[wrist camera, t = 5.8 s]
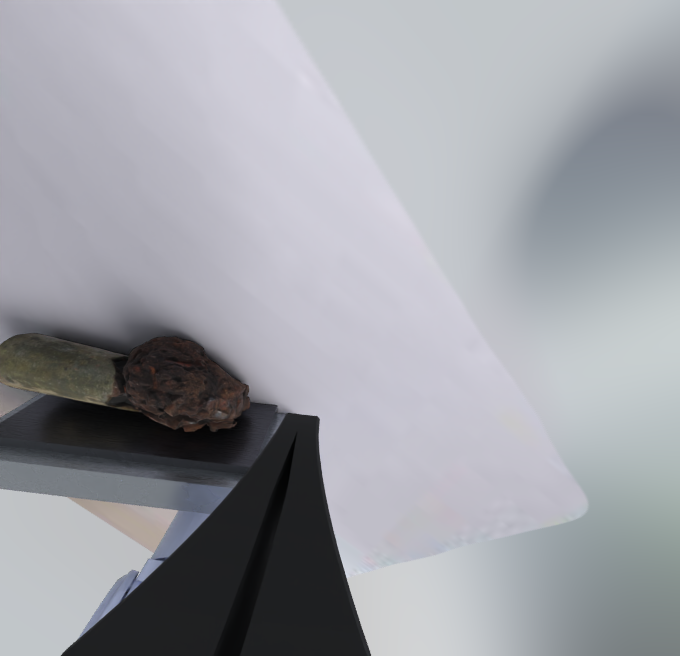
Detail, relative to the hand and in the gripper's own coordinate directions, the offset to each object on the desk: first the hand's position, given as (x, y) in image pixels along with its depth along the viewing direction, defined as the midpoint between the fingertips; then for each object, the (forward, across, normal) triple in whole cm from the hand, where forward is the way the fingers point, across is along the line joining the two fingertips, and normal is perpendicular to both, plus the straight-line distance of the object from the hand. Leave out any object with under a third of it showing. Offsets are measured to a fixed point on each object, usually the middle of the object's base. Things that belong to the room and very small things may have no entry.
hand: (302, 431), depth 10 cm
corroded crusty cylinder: (+10, +15, +5) cm, 18 cm away
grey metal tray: (+9, +14, +12) cm, 21 cm away
